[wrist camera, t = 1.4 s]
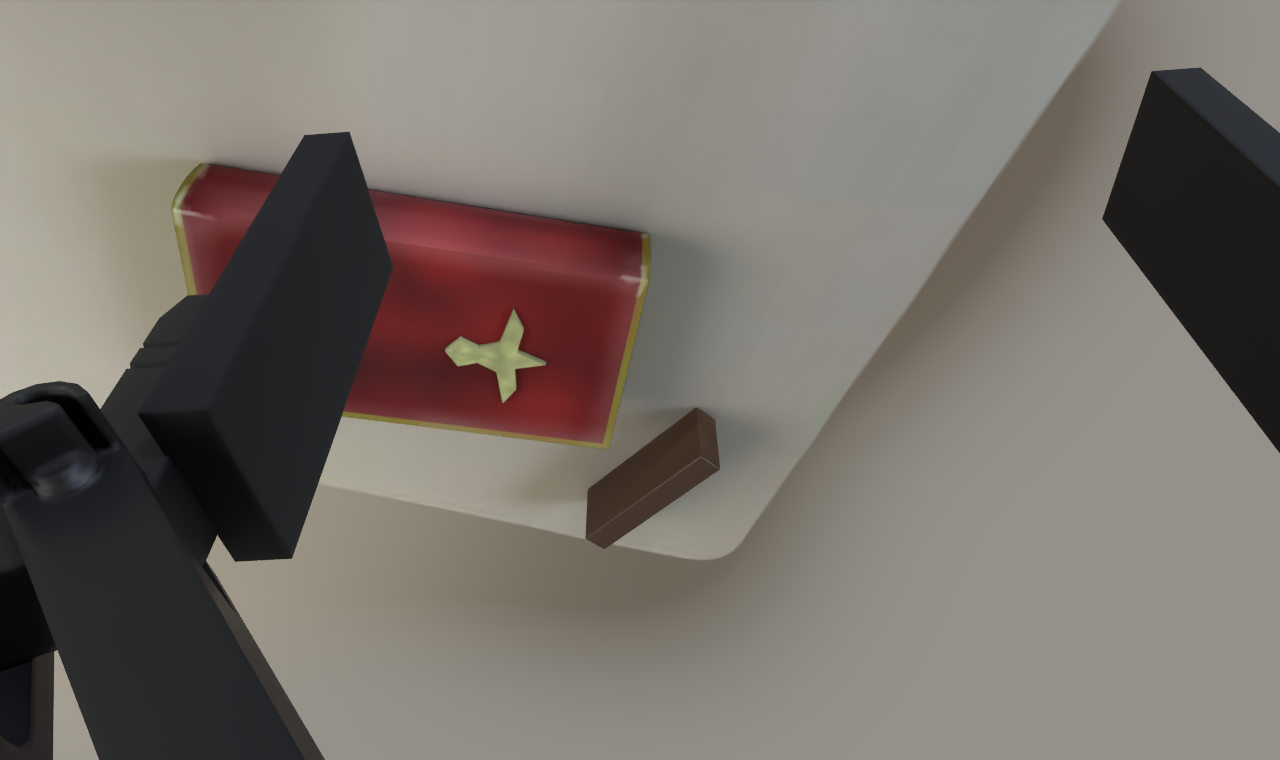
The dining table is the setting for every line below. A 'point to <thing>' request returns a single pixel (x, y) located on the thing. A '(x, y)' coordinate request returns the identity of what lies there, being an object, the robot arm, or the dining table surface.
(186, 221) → the hardcover book
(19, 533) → the robot arm
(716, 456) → the bar
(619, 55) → the dining table surface
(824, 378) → the dining table surface
